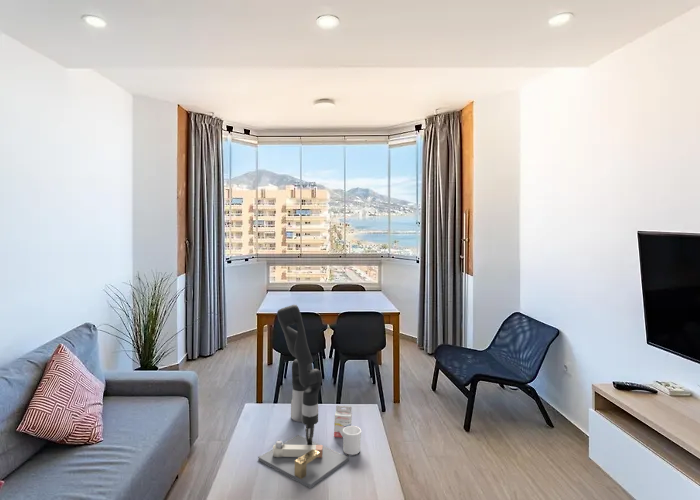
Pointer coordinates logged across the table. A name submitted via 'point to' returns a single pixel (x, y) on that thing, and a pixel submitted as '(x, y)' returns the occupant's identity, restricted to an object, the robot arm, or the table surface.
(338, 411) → the ink cartridge box
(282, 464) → the base plate
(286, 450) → the latch bar
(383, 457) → the table surface
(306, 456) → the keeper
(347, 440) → the mug
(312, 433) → the robot arm
